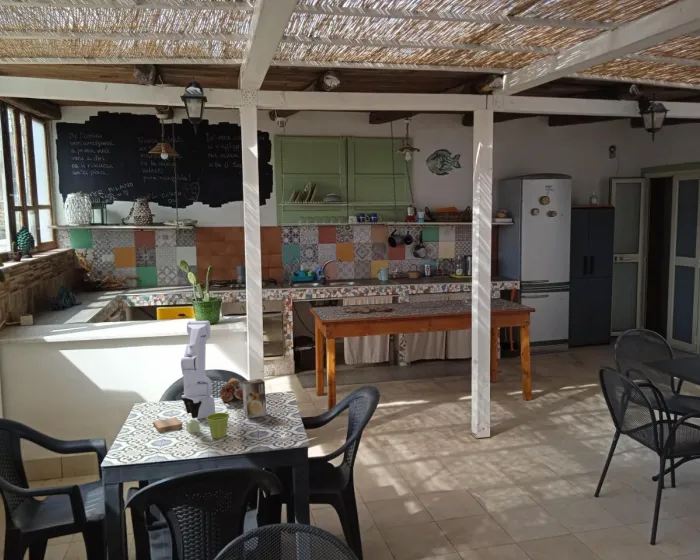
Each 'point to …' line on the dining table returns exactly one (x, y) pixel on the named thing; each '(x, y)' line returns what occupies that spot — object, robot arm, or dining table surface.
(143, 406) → the dining table surface
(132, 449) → the dining table surface
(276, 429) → the dining table surface
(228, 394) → the seed pod
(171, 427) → the tan block
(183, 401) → the robot arm
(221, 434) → the plant pot
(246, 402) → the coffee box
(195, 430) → the sage cube
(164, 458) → the dining table surface
